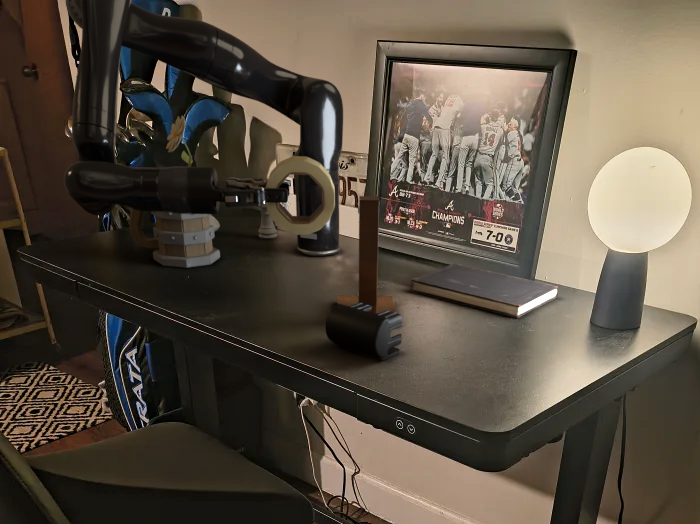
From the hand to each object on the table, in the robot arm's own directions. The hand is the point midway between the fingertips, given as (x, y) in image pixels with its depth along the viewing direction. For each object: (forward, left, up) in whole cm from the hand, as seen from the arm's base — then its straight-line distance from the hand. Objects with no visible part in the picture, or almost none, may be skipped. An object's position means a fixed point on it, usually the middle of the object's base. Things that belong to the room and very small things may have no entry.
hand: (287, 192), depth 130 cm
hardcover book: (-1, +36, -18) cm, 41 cm away
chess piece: (-53, -4, -18) cm, 56 cm away
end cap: (+29, +12, -18) cm, 37 cm away
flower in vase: (-45, -25, -18) cm, 54 cm away
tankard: (-24, -27, -18) cm, 40 cm away
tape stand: (+11, +13, -18) cm, 25 cm away
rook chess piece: (-43, -8, -18) cm, 47 cm away
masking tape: (0, +2, -6) cm, 7 cm away
